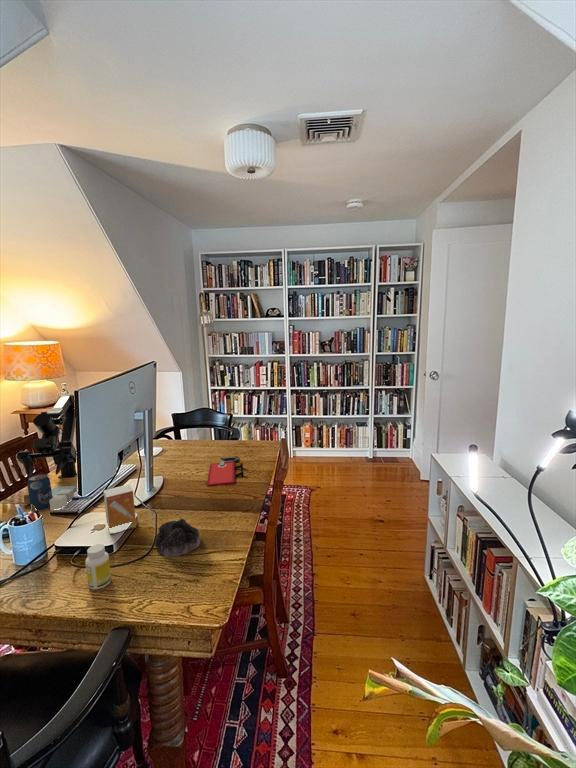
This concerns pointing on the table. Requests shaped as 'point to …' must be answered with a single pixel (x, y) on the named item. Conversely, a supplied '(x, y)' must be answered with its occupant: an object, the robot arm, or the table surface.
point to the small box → (119, 506)
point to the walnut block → (26, 498)
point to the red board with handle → (224, 472)
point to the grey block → (67, 493)
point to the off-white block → (58, 501)
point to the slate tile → (58, 489)
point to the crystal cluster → (176, 538)
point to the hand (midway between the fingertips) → (42, 475)
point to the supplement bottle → (98, 567)
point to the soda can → (40, 491)
